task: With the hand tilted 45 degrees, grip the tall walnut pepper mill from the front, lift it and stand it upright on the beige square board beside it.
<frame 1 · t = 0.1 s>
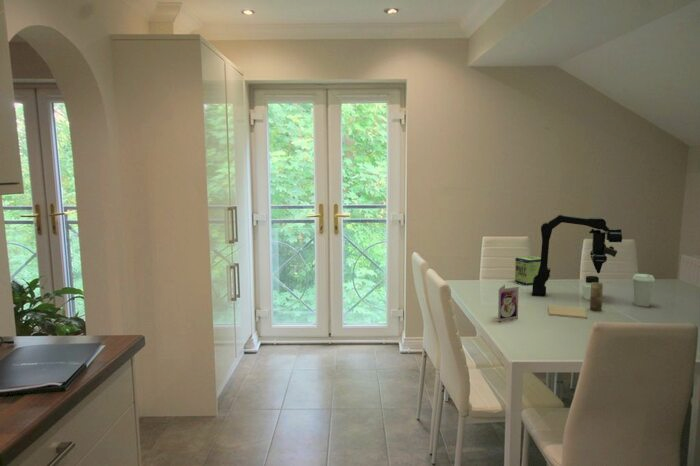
hand: (597, 271, 242), 15 cm above the table, tool pointing down, fingers open, 9 cm apart
medicine bottle: (591, 298, 245), on the table
greeting card: (503, 319, 212), on the table
coffee cup: (642, 305, 231), on the table
beige square board: (566, 312, 220), on the table
protein box: (530, 283, 284), on the table
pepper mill: (595, 309, 224), on the table
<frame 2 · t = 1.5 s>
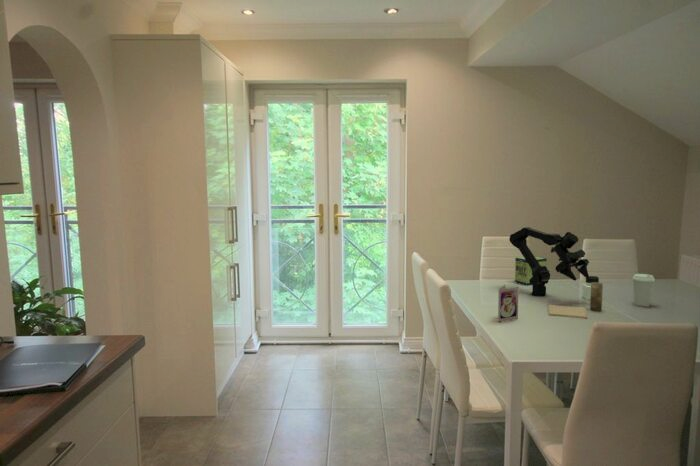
hand: (582, 279, 229), 14 cm above the table, tool tilted 45°, fingers open, 9 cm apart
nothing on the table moved.
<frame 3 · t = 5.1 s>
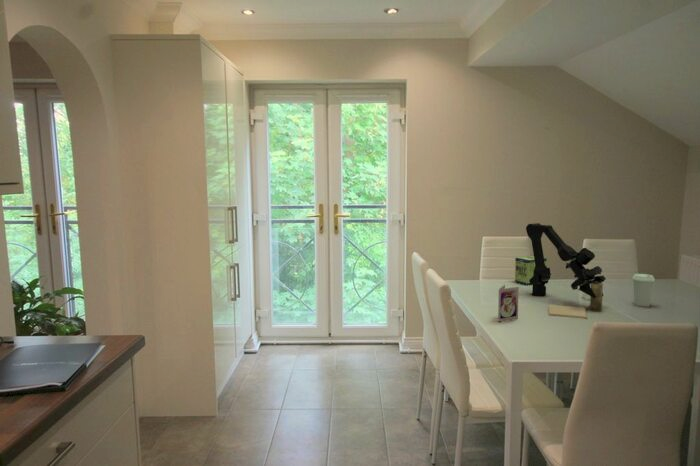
hand: (599, 297, 222), 7 cm above the table, tool tilted 45°, fingers closed on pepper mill, 5 cm apart
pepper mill: (595, 309, 224), on the table, touching gripper
everything else where it was.
when the fingers open (8 cm above the table, at t = 9.9 s): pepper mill drops 1 cm, resting on beige square board.
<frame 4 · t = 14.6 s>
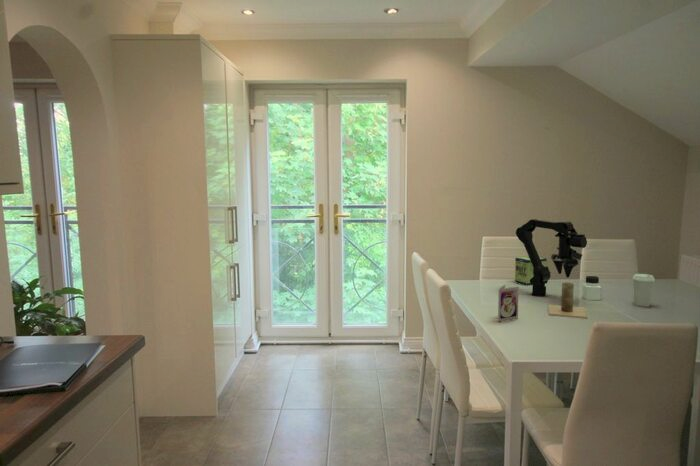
hand: (563, 275, 241), 13 cm above the table, tool pointing down, fingers open, 9 cm apart
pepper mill: (566, 310, 220), point 1 cm above the table, touching beige square board
everything else where it was.
at the end: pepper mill inside the target area (0.1 cm from its centre), point 0.8 cm above the table; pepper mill tilted 1°; the gripper is holding nothing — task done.
